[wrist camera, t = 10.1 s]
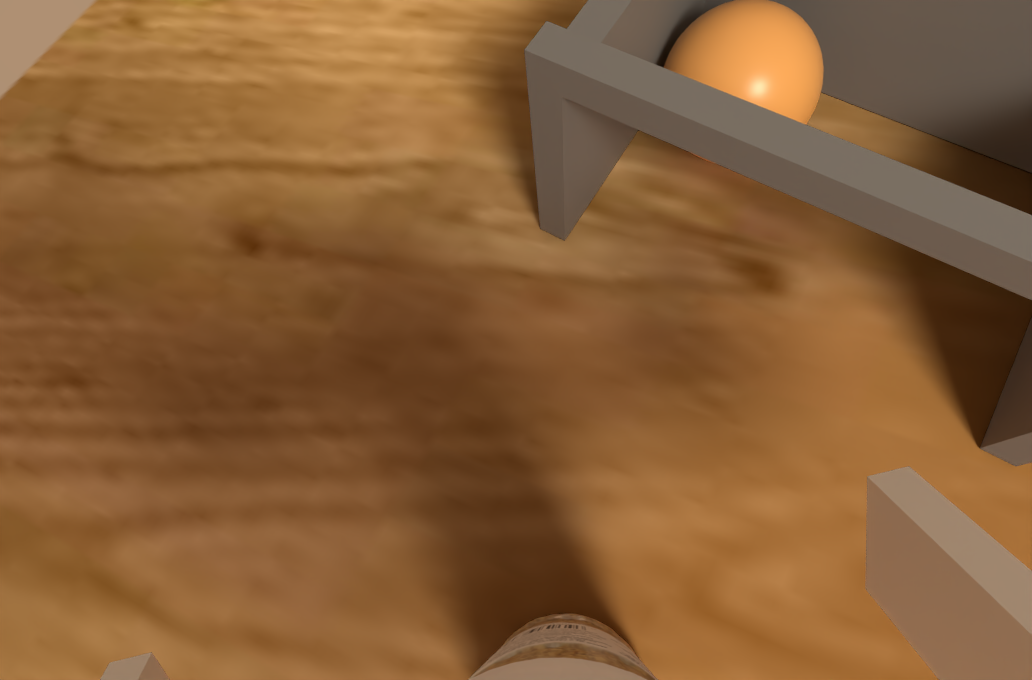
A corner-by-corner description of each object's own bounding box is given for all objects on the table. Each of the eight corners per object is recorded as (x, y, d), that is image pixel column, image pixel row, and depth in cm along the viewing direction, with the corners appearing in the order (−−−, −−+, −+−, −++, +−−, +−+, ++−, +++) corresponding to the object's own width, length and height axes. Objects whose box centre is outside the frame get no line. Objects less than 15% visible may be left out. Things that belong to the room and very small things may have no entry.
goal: (540, 228, 22) (524, 50, 14) (683, 17, 25) (732, -223, 17) (1016, 466, 18) (1333, 388, 10) (1122, 182, 21) (1431, -39, 13)
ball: (628, 61, 23) (630, 156, 20) (729, -66, 19) (747, 29, 16) (732, 122, 25) (745, 216, 22) (843, 16, 21) (876, 115, 18)
